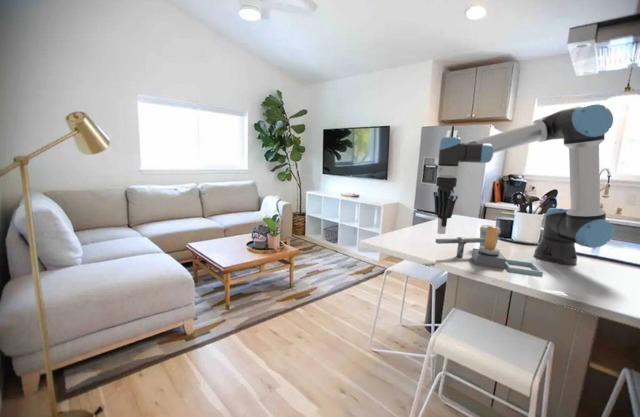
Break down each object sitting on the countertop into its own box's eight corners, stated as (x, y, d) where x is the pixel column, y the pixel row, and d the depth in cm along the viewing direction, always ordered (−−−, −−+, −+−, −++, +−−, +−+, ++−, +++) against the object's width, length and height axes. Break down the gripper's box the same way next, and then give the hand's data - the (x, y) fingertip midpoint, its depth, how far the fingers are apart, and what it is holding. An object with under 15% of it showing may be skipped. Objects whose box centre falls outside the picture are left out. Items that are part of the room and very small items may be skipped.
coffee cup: (500, 255, 136) (504, 230, 134) (479, 253, 137) (483, 228, 135) (493, 250, 144) (497, 225, 142) (474, 248, 146) (477, 224, 144)
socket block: (497, 262, 126) (499, 251, 125) (504, 271, 116) (506, 259, 115) (452, 256, 131) (453, 245, 130) (455, 264, 121) (456, 252, 120)
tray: (531, 268, 121) (532, 262, 120) (541, 278, 111) (543, 272, 110) (500, 264, 124) (501, 258, 124) (508, 273, 114) (509, 267, 113)
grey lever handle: (479, 256, 133) (482, 236, 131) (485, 258, 129) (488, 238, 128) (432, 257, 127) (434, 237, 125) (437, 260, 123) (439, 240, 122)
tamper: (495, 261, 124) (500, 226, 122) (499, 267, 117) (505, 229, 115) (476, 258, 126) (481, 224, 124) (479, 264, 120) (484, 227, 117)
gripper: (429, 175, 126) (424, 229, 130) (448, 177, 114) (442, 238, 118) (445, 175, 128) (439, 229, 132) (466, 178, 115) (459, 237, 119)
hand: (441, 233), depth 125 cm, fingers closed
